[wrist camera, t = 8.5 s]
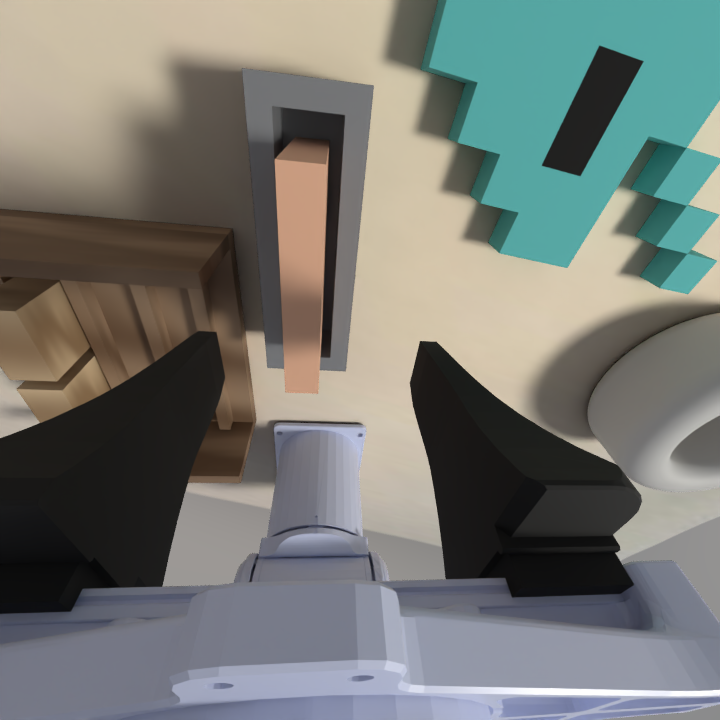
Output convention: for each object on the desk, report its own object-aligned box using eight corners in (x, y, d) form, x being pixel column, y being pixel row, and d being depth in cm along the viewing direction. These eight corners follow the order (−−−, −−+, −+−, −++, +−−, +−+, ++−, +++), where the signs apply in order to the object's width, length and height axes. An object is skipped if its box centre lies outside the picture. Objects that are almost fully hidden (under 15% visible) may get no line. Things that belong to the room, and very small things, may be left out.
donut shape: (778, 262, 23) (910, 313, 17) (778, 386, 30) (870, 447, 25) (557, 375, 28) (608, 440, 23) (604, 456, 36) (651, 519, 30)
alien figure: (1102, -262, 11) (602, -663, 8) (1239, -326, 10) (678, -876, 6) (661, 279, 23) (381, 216, 20) (687, 294, 22) (386, 228, 18)
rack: (256, 419, 29) (240, 482, 24) (92, 415, 28) (42, 481, 23) (232, 228, 19) (198, 272, 15) (-23, 207, 18) (-151, 248, 13)
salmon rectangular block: (322, 319, 22) (318, 393, 17) (298, 318, 22) (285, 392, 17) (329, 140, 16) (326, 164, 11) (296, 136, 16) (274, 159, 11)
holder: (345, 337, 24) (347, 371, 21) (274, 333, 24) (265, 367, 21) (368, 87, 16) (376, 85, 13) (258, 72, 15) (239, 67, 12)
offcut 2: (122, 397, 25) (92, 440, 22) (87, 396, 25) (52, 439, 22) (100, 349, 23) (62, 390, 19) (61, 347, 22) (16, 388, 19)
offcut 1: (96, 340, 22) (56, 381, 19) (56, 338, 22) (9, 379, 19) (67, 276, 19) (15, 311, 16) (21, 273, 19) (-41, 308, 16)
